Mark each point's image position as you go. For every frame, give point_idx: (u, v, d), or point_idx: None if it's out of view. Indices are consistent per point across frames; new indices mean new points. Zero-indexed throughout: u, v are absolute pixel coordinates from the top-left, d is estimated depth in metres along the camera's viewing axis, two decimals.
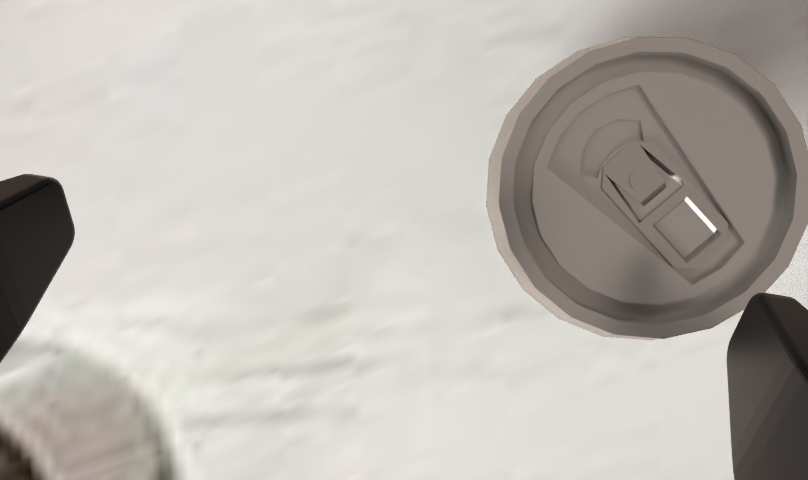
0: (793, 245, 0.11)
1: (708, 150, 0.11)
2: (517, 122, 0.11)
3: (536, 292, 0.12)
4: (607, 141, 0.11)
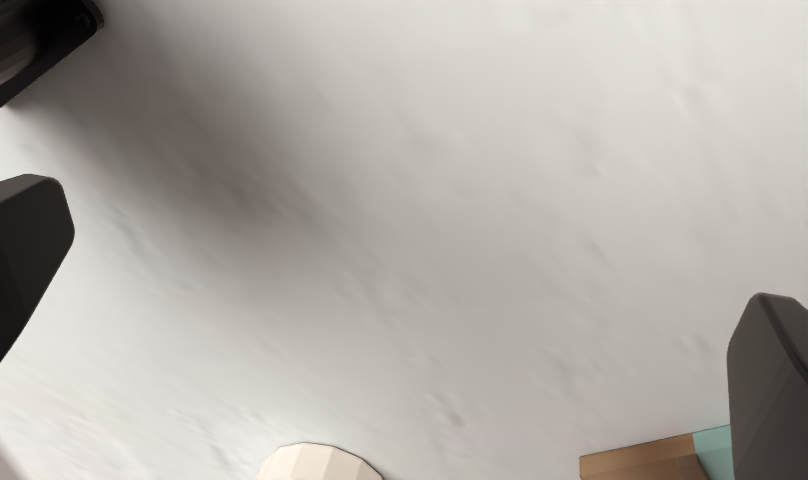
0: None
1: None
2: None
3: None
4: None
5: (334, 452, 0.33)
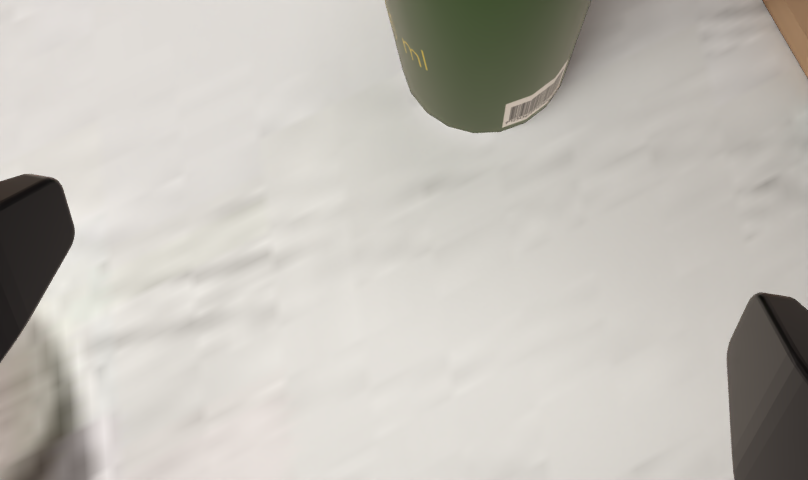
0: None
1: None
2: None
3: None
4: None
5: None
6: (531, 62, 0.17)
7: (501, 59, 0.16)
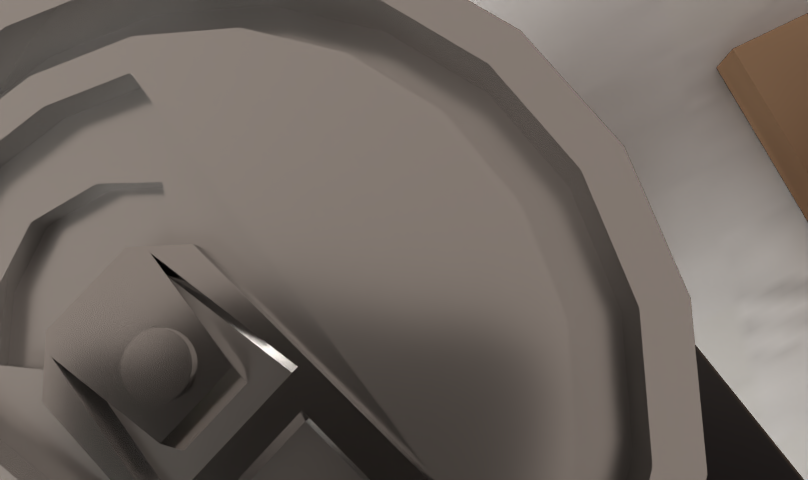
0: None
1: (344, 252, 0.03)
2: None
3: None
4: (88, 252, 0.04)
5: None
6: None
7: None
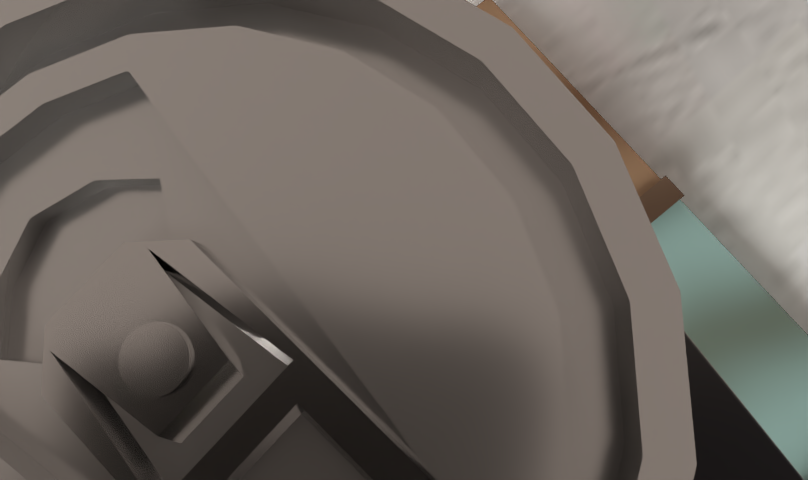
0: None
1: (341, 248, 0.03)
2: None
3: None
4: (87, 248, 0.04)
5: None
6: None
7: None
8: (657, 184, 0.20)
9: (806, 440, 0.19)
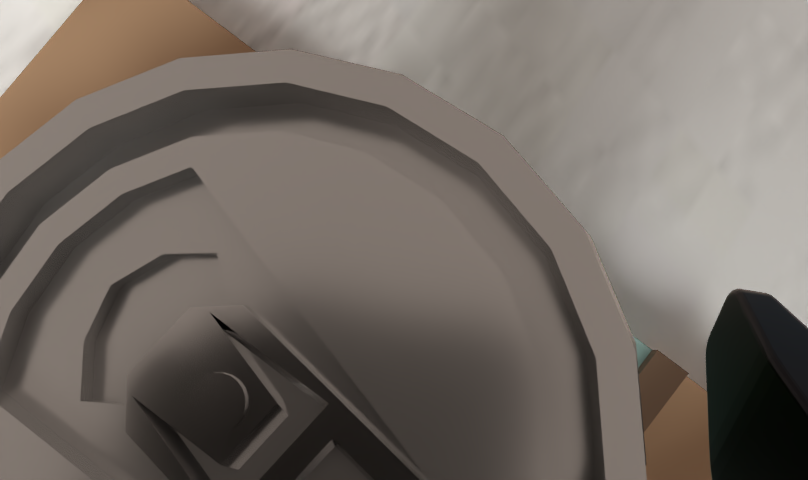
0: None
1: (365, 314, 0.04)
2: None
3: None
4: (155, 308, 0.05)
5: None
6: None
7: None
8: None
9: None
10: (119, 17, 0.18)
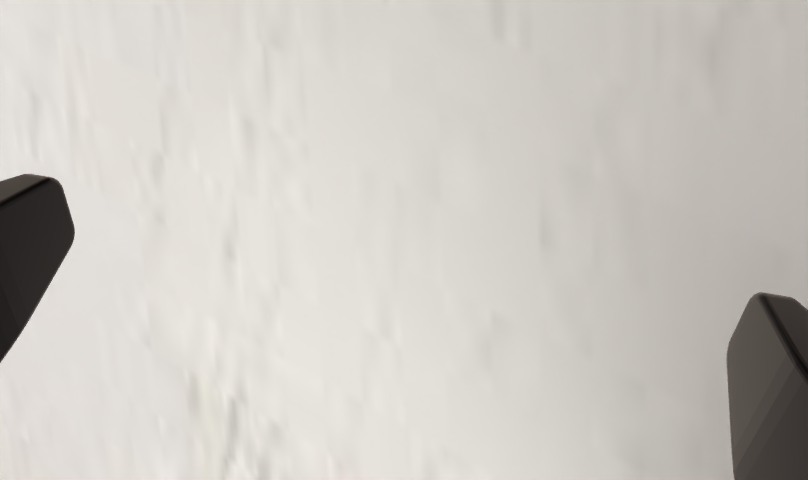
0: None
1: None
2: None
3: None
4: None
5: None
6: None
7: None
8: None
9: None
10: None
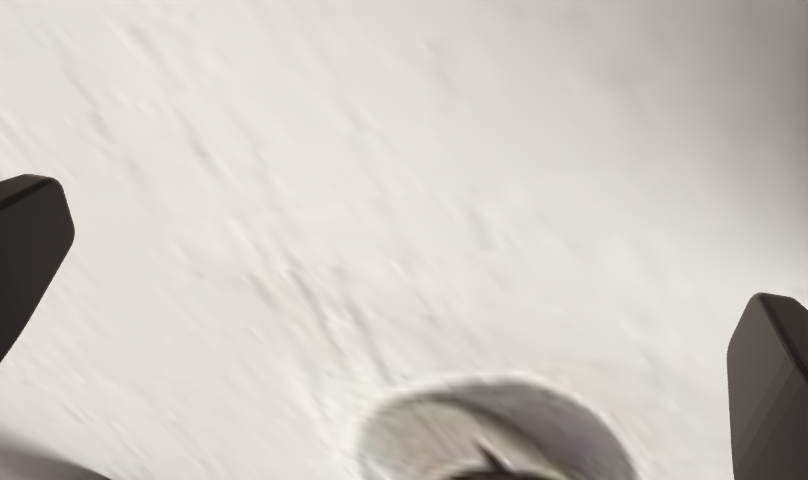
0: None
1: None
2: None
3: None
4: None
5: None
6: None
7: None
8: None
9: None
10: None
